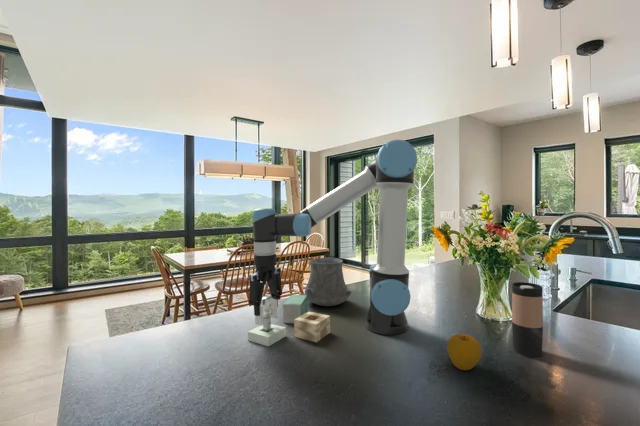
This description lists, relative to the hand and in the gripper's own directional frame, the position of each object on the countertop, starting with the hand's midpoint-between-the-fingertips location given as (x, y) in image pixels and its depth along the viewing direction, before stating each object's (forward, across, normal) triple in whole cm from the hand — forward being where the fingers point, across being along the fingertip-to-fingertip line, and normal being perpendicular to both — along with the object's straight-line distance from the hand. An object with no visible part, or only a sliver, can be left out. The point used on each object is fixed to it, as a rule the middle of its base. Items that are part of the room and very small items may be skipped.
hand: (266, 320), depth 105 cm
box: (+6, -21, -3) cm, 22 cm away
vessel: (+6, -42, 0) cm, 42 cm away
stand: (+6, 0, 0) cm, 6 cm away
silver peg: (+6, 0, 0) cm, 6 cm away
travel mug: (+6, -31, +75) cm, 81 cm away
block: (+6, -10, +12) cm, 17 cm away
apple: (+6, -12, +60) cm, 62 cm away
